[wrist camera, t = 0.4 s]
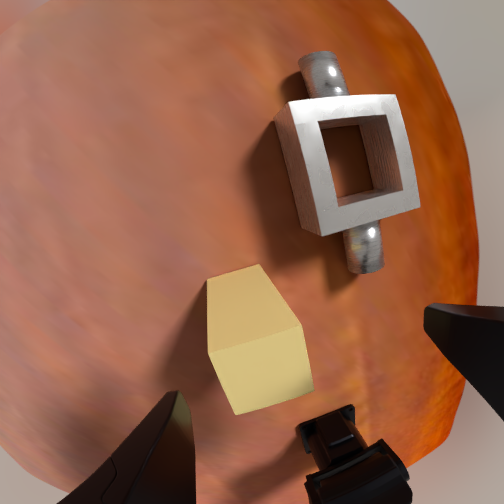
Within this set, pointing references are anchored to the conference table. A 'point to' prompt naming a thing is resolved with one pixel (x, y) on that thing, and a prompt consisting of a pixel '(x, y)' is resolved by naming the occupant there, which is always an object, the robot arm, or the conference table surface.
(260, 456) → the conference table surface
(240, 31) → the conference table surface
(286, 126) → the bracket head
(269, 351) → the butter yellow block
